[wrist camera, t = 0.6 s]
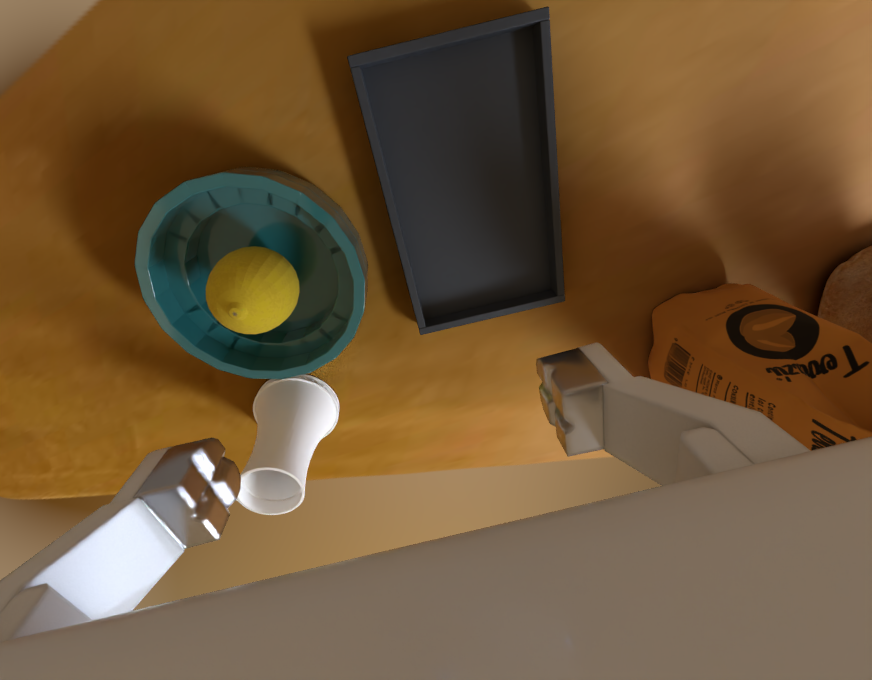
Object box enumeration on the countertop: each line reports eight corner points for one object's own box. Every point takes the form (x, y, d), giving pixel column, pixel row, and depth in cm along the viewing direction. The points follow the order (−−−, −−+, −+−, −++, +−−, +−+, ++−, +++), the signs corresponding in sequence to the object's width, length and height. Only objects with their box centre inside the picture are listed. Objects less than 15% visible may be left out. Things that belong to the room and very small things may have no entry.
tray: (350, 61, 25) (346, 56, 23) (538, 14, 25) (549, 6, 23) (418, 324, 34) (420, 335, 32) (556, 292, 34) (565, 301, 32)
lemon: (217, 250, 29) (162, 288, 22) (286, 223, 29) (252, 254, 22) (258, 313, 32) (220, 366, 25) (321, 290, 31) (301, 337, 24)
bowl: (128, 194, 27) (83, 205, 23) (332, 144, 27) (322, 147, 23) (226, 366, 34) (204, 397, 30) (388, 328, 34) (388, 354, 30)
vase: (278, 445, 39) (246, 537, 30) (240, 385, 35) (191, 470, 27) (351, 424, 39) (339, 511, 30) (320, 362, 35) (296, 441, 26)
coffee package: (753, 266, 35) (1203, 440, 15) (735, 378, 41) (1044, 604, 21) (642, 296, 35) (948, 503, 16) (641, 403, 41) (862, 647, 22)
